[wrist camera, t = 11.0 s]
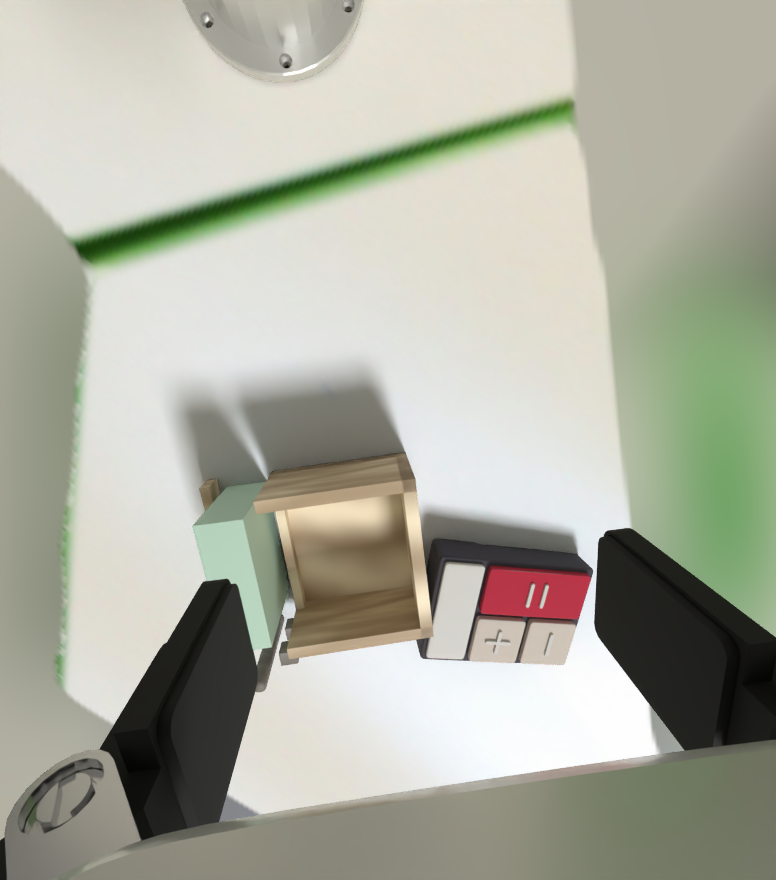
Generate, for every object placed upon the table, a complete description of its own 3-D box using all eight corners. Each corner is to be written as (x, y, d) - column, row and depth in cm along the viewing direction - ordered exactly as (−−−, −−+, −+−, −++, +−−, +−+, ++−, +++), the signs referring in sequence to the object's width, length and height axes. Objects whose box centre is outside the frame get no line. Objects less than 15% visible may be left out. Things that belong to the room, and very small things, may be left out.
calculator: (569, 671, 41) (421, 665, 39) (548, 640, 45) (413, 633, 43) (600, 573, 38) (443, 560, 36) (574, 549, 42) (432, 536, 40)
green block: (227, 486, 37) (192, 526, 30) (267, 480, 37) (242, 519, 30) (252, 596, 40) (227, 659, 33) (289, 591, 40) (273, 652, 33)
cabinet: (207, 480, 37) (167, 519, 29) (405, 452, 38) (417, 483, 30) (245, 629, 41) (219, 698, 33) (423, 602, 42) (438, 664, 34)
